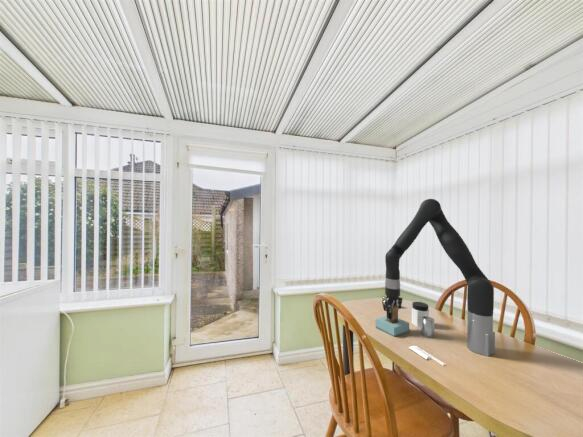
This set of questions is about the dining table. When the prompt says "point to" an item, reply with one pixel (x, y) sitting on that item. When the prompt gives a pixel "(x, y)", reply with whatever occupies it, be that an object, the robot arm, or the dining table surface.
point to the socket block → (392, 326)
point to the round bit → (427, 327)
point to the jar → (419, 312)
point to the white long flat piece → (424, 354)
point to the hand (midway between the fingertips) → (392, 317)
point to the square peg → (393, 315)
